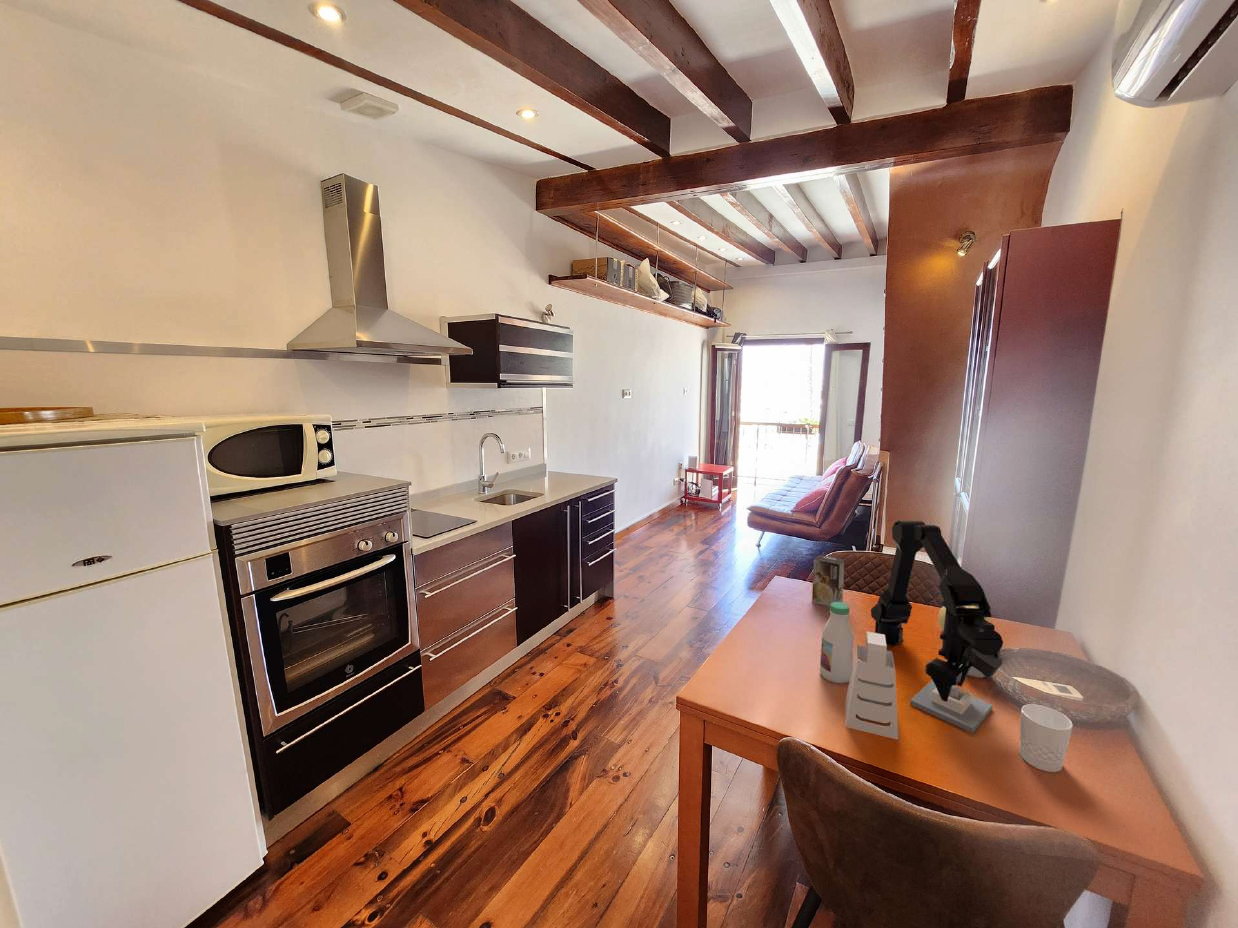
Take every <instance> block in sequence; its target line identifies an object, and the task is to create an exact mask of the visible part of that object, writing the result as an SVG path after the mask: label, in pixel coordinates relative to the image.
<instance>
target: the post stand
mask: <svg viewBox="0 0 1238 928" xmlns="http://www.w3.org/2000/svg"><path fill="white" fill-rule="evenodd" d="M935 688H936V686H935V684H934V682H933V680H932V679H931V680H930V681H929V682H928V683H927V684H926V685H924V687H923V688H921V690H919V691H918V692H917V693H916V694H915V695H914V696H913V697H912V698H911V699H910V700H909V705H911V706H913V707H915V708H917V709H920V710H921V711H923V712H925V713H927V714H930V715H932V716H934V717H936V718H939V719H940V720H943V721H945V722H948V723H949V724H952V725H954V726H956V727H958V728H960V729H961V730H962V729H963V730H965V731H966V732H968V733H972V734H973V733H974V732H975V731H976V730H977V728H978V727H979V726H980V725H981V724H982V722H983V721H985V719H986V718H987V716H988V715H989V714H990V712H992V710H993V706H994V705H993V704H992V703H990V702H987V701H985V700H982V699H979V698H977V697H975V696H972V704H971V705H970V706H969V707H968V708H967V709H966V710H965V711H964V712H963V714H959V713H957V712H955V711H952V710H950V709H948V708H946V707H943V706H941V705H939V704H937V703H934V702H932V701H931V696H932V691H933V690H934V689H935ZM958 691H959V686H958V685H955V686H954V685H953V686H952V689H951V692H950V695H949V696H950V697H952V698H954V699H957V700H958Z"/></svg>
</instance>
